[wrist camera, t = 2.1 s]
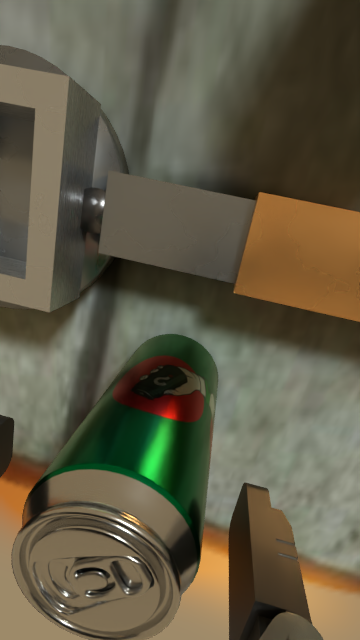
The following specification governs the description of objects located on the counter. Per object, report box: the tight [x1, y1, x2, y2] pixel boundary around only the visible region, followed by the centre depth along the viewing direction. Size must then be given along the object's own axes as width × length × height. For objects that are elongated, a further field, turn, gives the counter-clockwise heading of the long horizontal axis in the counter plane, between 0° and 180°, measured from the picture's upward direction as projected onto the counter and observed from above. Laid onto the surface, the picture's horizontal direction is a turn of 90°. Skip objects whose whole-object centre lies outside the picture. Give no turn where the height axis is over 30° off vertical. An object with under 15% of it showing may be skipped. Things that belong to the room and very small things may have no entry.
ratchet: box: [0, 45, 360, 322], centre depth 15 cm, size 28×12×4 cm, turn 78°
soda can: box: [12, 334, 218, 640], centre depth 14 cm, size 5×5×12 cm
